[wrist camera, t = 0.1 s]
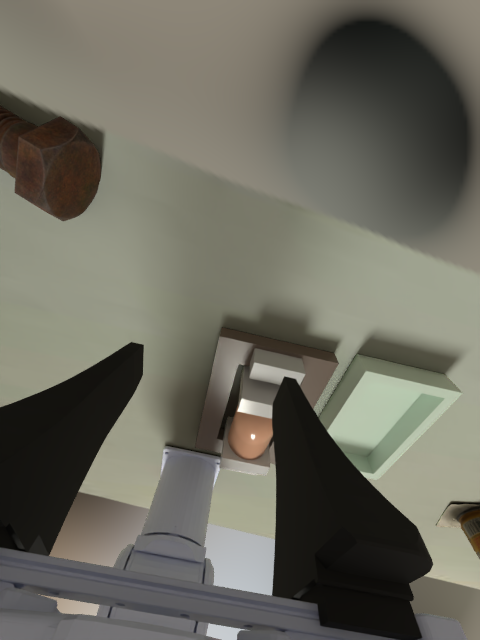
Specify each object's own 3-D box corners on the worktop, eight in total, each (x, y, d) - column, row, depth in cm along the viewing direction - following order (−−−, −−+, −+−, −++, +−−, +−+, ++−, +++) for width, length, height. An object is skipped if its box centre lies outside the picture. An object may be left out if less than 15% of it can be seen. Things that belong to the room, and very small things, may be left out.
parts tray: (369, 459, 31) (377, 480, 29) (301, 445, 31) (304, 465, 28) (445, 374, 23) (462, 393, 21) (356, 353, 23) (366, 370, 21)
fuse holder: (280, 453, 32) (282, 482, 29) (197, 436, 31) (190, 464, 28) (334, 353, 23) (345, 379, 20) (222, 327, 23) (216, 349, 20)
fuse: (264, 433, 30) (265, 475, 26) (225, 424, 30) (219, 466, 25) (292, 371, 25) (299, 411, 20) (245, 360, 25) (241, 398, 20)
